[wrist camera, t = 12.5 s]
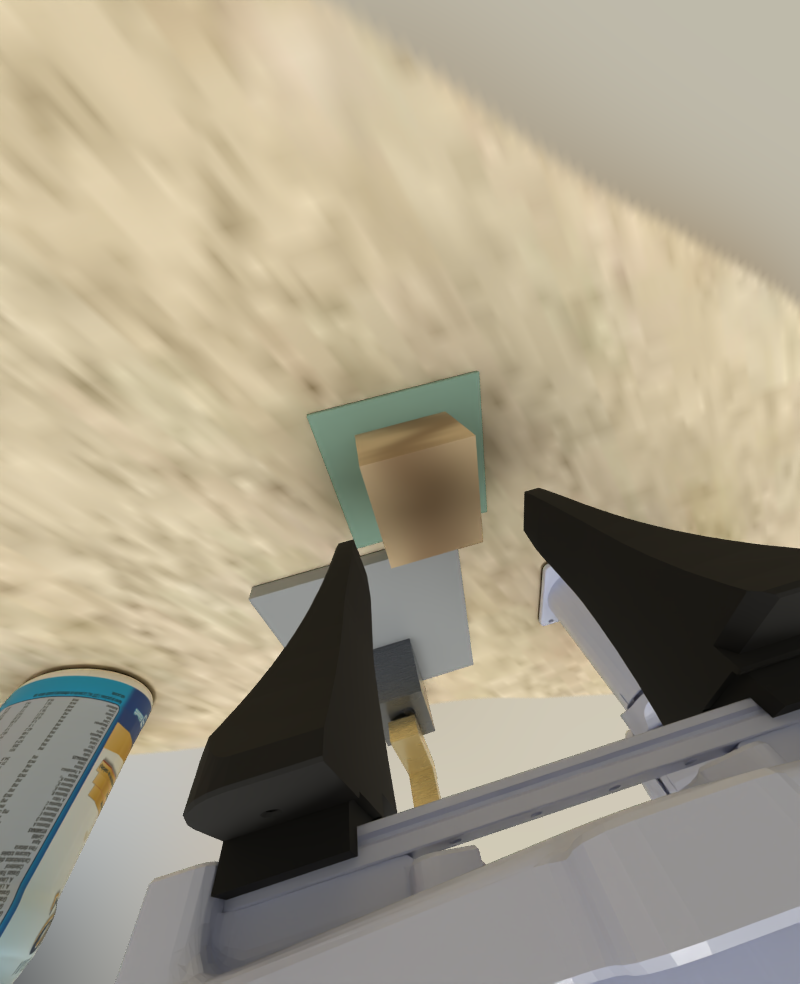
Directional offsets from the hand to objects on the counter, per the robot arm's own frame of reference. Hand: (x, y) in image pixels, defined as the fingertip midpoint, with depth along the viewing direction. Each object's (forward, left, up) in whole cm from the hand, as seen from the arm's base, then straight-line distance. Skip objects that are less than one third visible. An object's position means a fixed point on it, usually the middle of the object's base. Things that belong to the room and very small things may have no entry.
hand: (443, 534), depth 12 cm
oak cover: (0, 0, -6) cm, 6 cm away
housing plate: (+5, +13, -6) cm, 16 cm away
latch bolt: (+5, +22, -1) cm, 22 cm away
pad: (0, 0, -6) cm, 6 cm away
